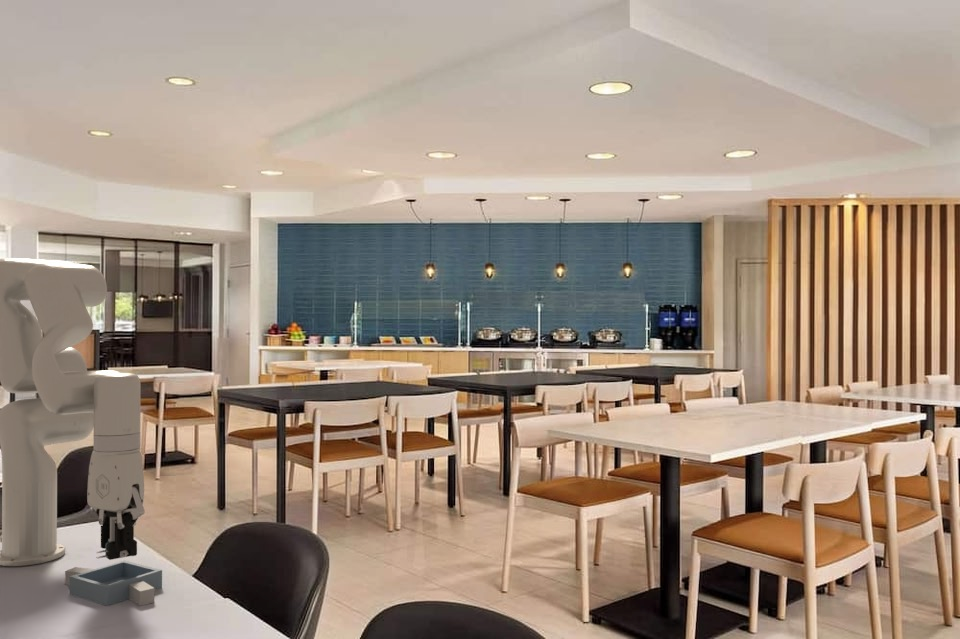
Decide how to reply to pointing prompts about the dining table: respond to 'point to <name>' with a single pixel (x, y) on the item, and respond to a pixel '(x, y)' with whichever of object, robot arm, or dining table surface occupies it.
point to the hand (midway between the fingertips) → (117, 547)
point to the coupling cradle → (115, 583)
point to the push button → (110, 545)
